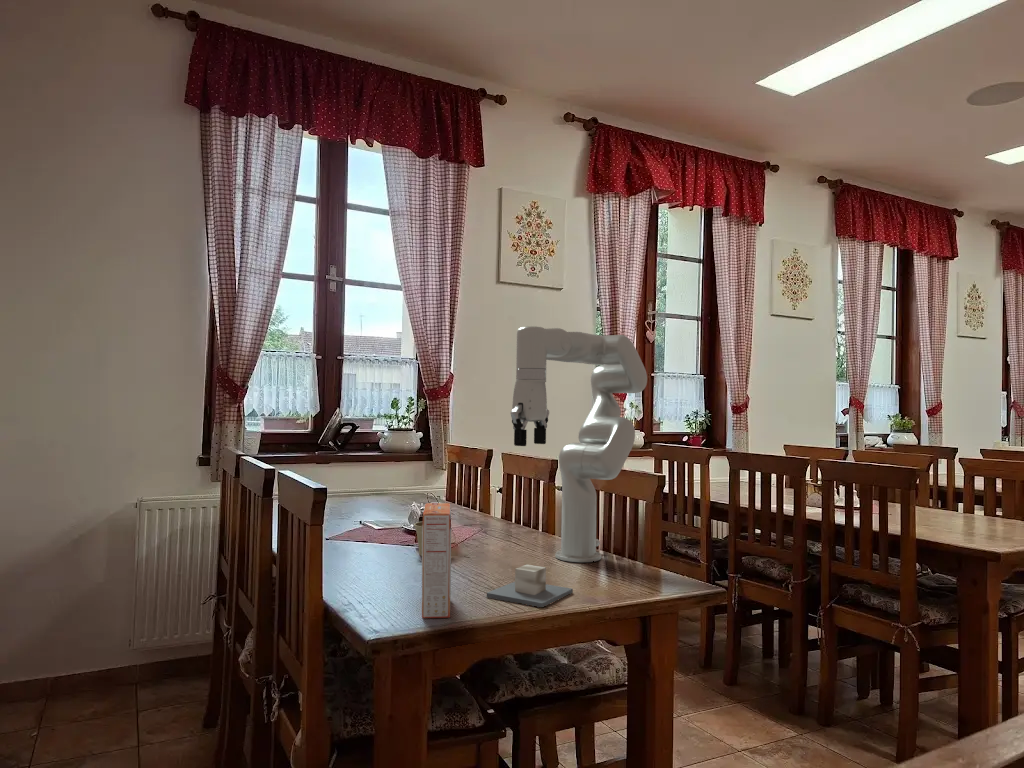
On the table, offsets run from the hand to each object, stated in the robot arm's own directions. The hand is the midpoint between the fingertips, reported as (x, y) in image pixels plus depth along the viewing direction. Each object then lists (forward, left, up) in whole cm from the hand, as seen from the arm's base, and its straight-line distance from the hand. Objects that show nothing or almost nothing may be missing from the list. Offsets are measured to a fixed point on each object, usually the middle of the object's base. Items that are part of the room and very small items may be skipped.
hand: (530, 444), depth 180 cm
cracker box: (+36, -1, -32) cm, 48 cm away
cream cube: (+16, +10, -31) cm, 36 cm away
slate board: (+16, +10, -32) cm, 37 cm away
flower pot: (-3, -33, -32) cm, 46 cm away
